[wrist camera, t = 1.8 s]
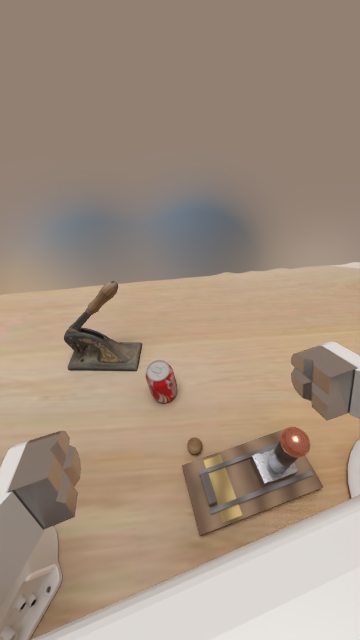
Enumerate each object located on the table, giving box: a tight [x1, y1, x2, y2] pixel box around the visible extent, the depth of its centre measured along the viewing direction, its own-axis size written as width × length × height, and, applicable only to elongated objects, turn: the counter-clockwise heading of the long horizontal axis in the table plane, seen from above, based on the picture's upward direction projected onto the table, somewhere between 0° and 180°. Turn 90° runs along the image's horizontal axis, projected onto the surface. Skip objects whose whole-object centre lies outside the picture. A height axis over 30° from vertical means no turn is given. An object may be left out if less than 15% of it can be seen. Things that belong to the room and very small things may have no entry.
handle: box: [250, 427, 310, 486], centre depth 44 cm, size 8×5×19 cm, turn 106°
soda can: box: [146, 360, 177, 403], centre depth 63 cm, size 7×7×12 cm
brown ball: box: [187, 438, 202, 454], centre depth 56 cm, size 3×3×3 cm
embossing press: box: [64, 281, 142, 371], centre depth 67 cm, size 11×24×30 cm, turn 84°
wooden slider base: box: [182, 429, 323, 536], centre depth 50 cm, size 26×12×6 cm, turn 106°
